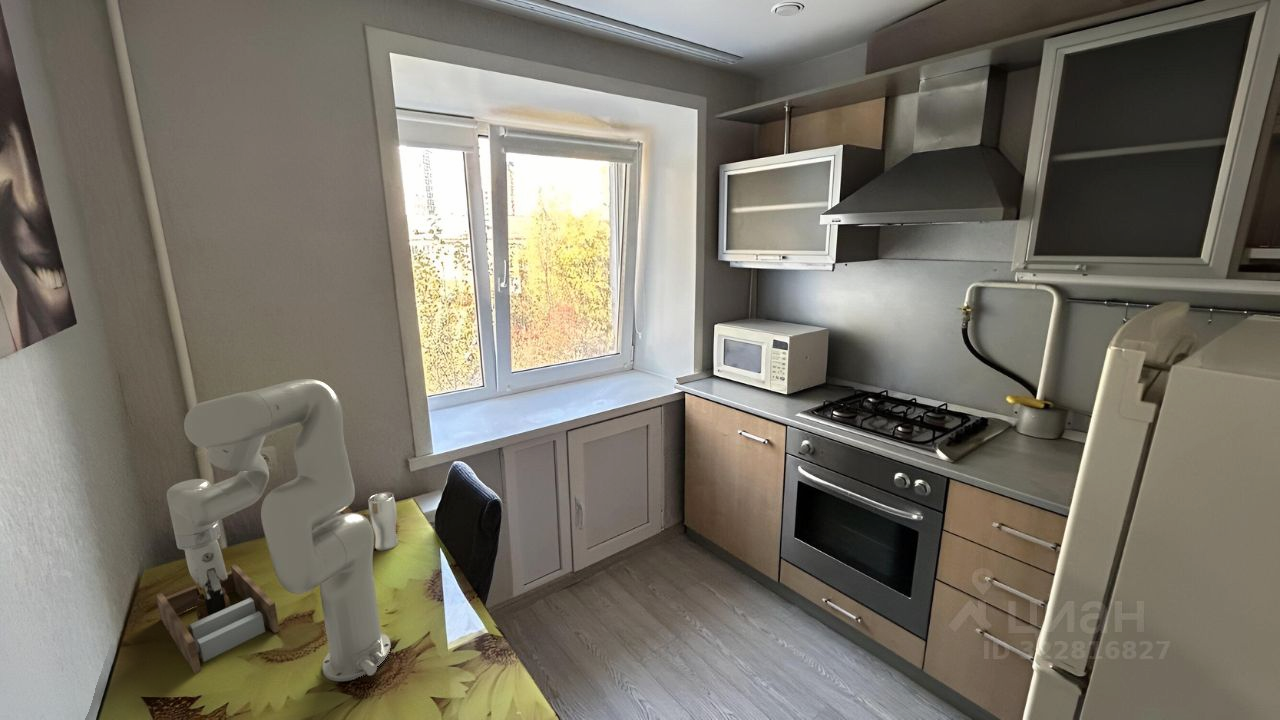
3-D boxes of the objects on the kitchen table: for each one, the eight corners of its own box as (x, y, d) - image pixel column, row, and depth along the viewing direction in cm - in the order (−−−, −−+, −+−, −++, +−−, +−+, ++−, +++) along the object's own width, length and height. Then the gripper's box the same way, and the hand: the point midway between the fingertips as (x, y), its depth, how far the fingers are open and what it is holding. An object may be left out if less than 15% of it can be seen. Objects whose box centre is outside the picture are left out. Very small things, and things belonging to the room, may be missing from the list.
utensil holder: (236, 609, 124) (228, 564, 121) (225, 626, 118) (215, 580, 115) (207, 615, 122) (197, 569, 119) (193, 633, 116) (183, 585, 114)
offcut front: (265, 632, 116) (262, 614, 115) (203, 662, 108) (199, 643, 107) (262, 628, 117) (258, 610, 116) (201, 658, 109) (197, 639, 108)
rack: (279, 630, 116) (274, 603, 115) (195, 673, 104) (188, 643, 103) (238, 586, 132) (233, 562, 131) (160, 619, 120) (154, 592, 119)
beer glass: (405, 542, 152) (399, 495, 149) (382, 554, 146) (376, 505, 143) (391, 536, 155) (385, 490, 152) (368, 547, 149) (362, 499, 146)
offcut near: (258, 623, 119) (253, 600, 118) (197, 653, 110) (192, 628, 109) (254, 620, 120) (250, 597, 119) (194, 648, 111) (189, 624, 110)
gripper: (231, 539, 113) (245, 611, 117) (207, 516, 123) (220, 584, 127) (187, 555, 107) (203, 630, 111) (166, 530, 118) (181, 600, 121)
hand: (212, 605), depth 119 cm, fingers closed on utensil holder, 5 cm apart
